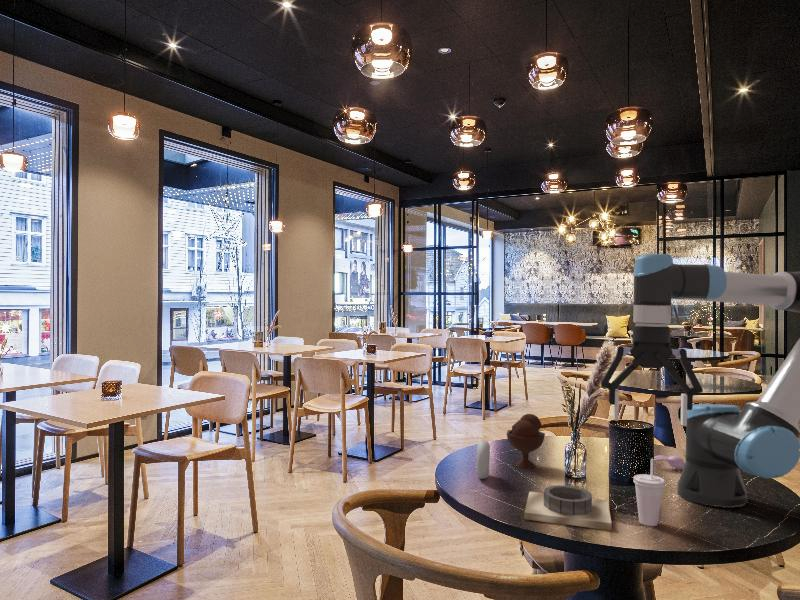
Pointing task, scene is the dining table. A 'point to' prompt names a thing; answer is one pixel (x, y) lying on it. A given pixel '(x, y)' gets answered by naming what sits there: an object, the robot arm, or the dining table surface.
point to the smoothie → (648, 497)
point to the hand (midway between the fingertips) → (649, 422)
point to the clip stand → (568, 507)
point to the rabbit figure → (672, 461)
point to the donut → (483, 459)
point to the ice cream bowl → (526, 438)
